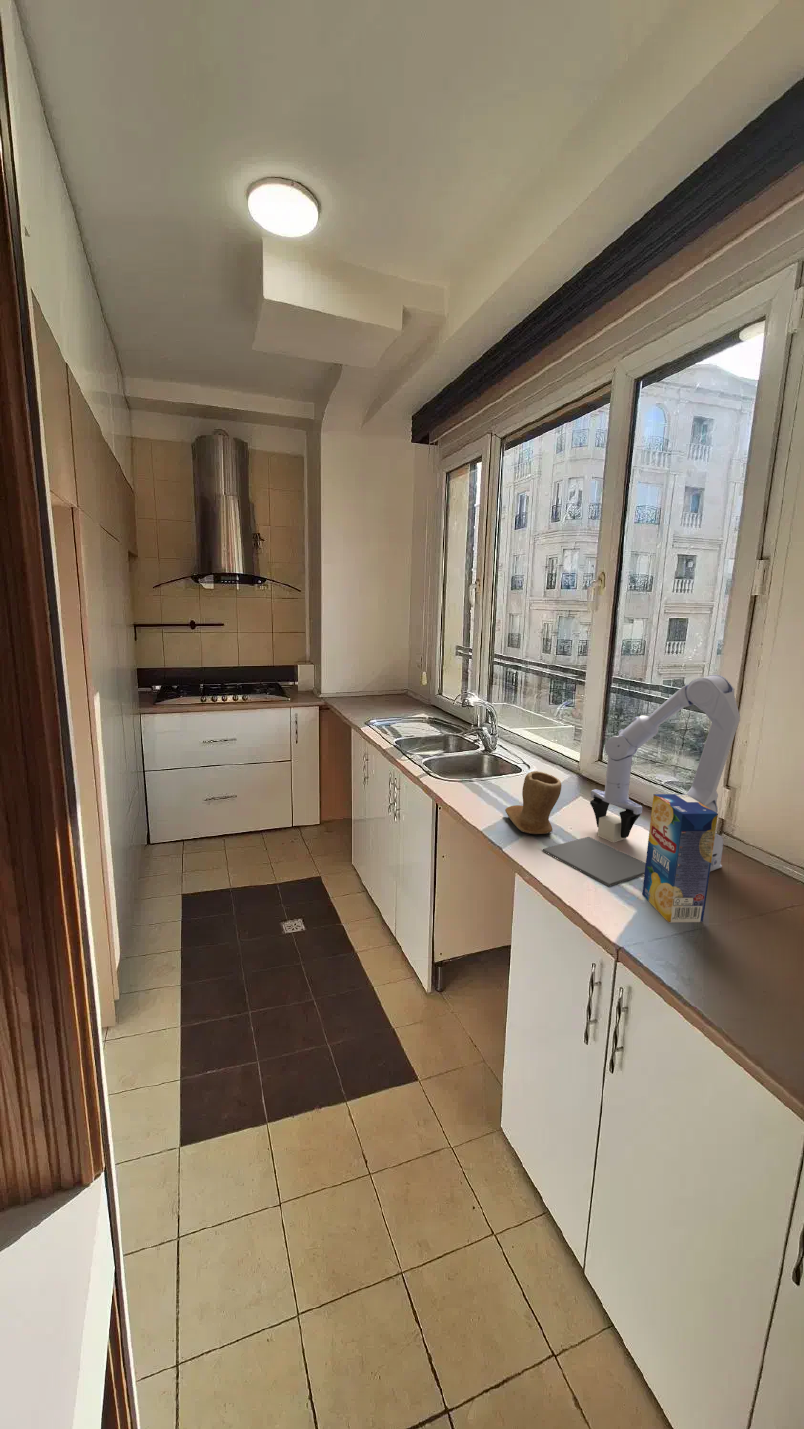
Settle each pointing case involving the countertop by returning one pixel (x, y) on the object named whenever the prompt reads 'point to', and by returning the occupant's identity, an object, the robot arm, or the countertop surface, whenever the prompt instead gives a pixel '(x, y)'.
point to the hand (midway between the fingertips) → (612, 831)
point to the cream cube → (610, 828)
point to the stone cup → (536, 803)
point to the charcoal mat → (598, 860)
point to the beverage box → (679, 857)
